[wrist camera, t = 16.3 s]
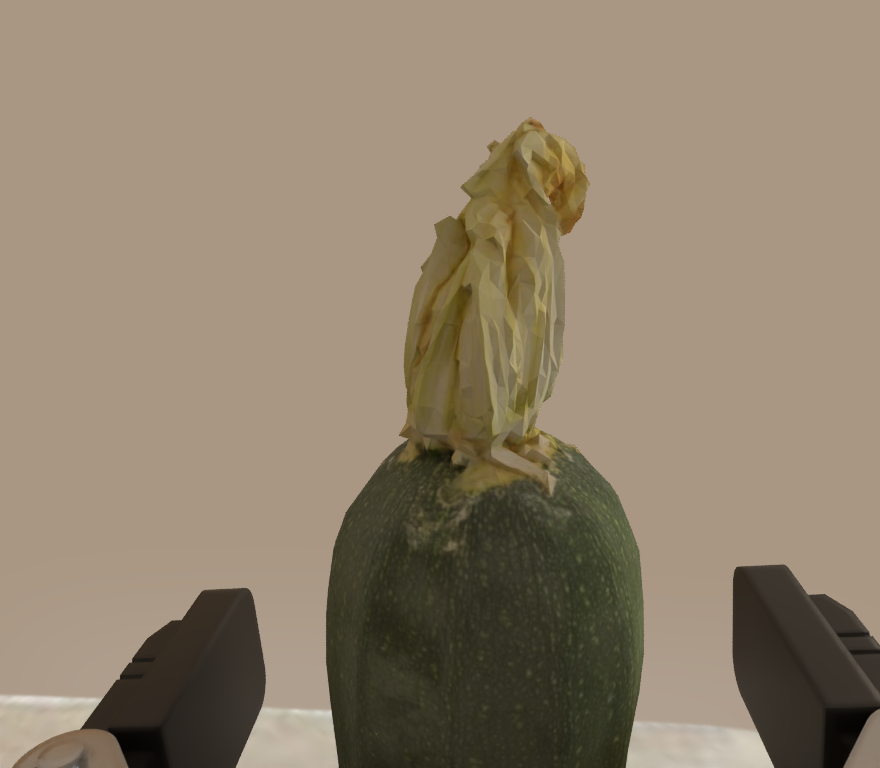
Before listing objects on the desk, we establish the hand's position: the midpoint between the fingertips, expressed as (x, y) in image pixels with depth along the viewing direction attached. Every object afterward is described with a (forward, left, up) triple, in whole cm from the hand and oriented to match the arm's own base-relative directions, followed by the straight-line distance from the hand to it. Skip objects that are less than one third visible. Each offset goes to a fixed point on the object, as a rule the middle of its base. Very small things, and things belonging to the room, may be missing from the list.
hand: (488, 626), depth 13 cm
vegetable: (0, +2, -12) cm, 12 cm away
